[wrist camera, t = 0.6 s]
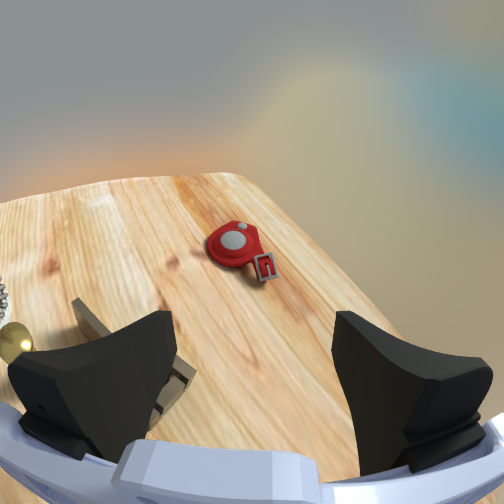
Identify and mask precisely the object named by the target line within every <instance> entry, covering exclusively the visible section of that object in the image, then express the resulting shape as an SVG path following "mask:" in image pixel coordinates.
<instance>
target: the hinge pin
mask: <svg viewBox="0 0 504 504" xmlns="http://www.w3.org/2000/svg"><path fill="white" fill-rule="evenodd" d="M25 351H36V350H35V348H34V347H33V339H32V336H31V334H30V333H29V331H28V330H27V328H26V327H25V326H24V325H22V324H21V323H18V322H10V323H7V324H6V325H4V326H3V327H2V328H1V329H0V357H1V358H2V359H3V360H4V361H5V362H6V363H7V364H10V363H11V362H12V361H14V360H15V359H16V358H17V357H18V356H19V355H20V354H21V353H23V352H25Z"/></svg>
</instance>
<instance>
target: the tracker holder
mask: <svg viewBox="0 0 504 504" xmlns="http://www.w3.org/2000/svg"><path fill="white" fill-rule="evenodd" d="M207 247H208V251H209V254H210V255H211V257H212V258H213V259H214V260H215V261H216V262H218V263H219V264H221V265H223V266H228V267H239V266H243V265H246V264H248V263H252V264H253V265H254V268H255V270H256V272H257V274H258V276H259V279H260V281H261V282H262V281H266V280H270V279H274V278H278V277H279V276H278V272H277V268H276V265H275V261H274V257H273V253H272V252H270V253H266V254H264V252H263V249H262V247H261V244H260V240H259V235H258V231H257V228H256V227H255V226H253V225H250V224H246V223H243V222H239V221H231V222H229V223H227V224H225V225H223V226H222V227H220V228H218V229H217V230H216V231H214V232H213V233H212V234H211V235H210V237H209V239H208V246H207ZM269 255H270V256H271V259H272V261H271V259H270V257H269Z"/></svg>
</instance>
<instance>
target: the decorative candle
mask: <svg viewBox="0 0 504 504" xmlns="http://www.w3.org/2000/svg"><path fill="white" fill-rule="evenodd" d="M1 280H2V278H1V276H0V281H1ZM10 316H11V300H10V298H9V295H8V293H7V291H6V290H5V285H4V284H0V329H1V328H2V327H3V326H4V325H6V324H7V323H8V322H9V319H10Z"/></svg>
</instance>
